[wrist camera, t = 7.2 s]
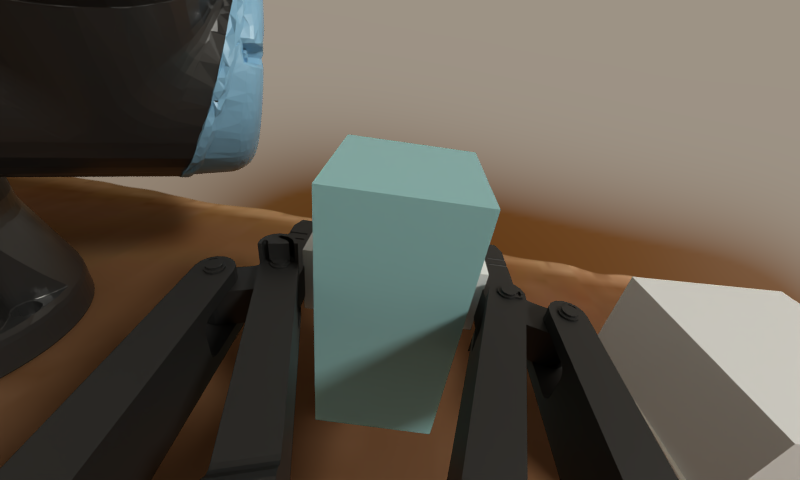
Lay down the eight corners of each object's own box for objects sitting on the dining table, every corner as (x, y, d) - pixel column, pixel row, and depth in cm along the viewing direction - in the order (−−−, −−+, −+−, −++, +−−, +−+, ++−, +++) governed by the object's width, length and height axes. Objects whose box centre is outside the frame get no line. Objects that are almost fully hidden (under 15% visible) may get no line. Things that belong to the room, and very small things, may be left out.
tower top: (706, 510, 14) (795, 444, 11) (595, 339, 21) (632, 276, 19) (906, 521, 14) (1034, 460, 12) (727, 350, 22) (781, 291, 19)
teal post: (315, 419, 15) (311, 183, 9) (339, 332, 19) (348, 134, 13) (429, 434, 15) (500, 209, 9) (428, 343, 19) (475, 152, 13)
